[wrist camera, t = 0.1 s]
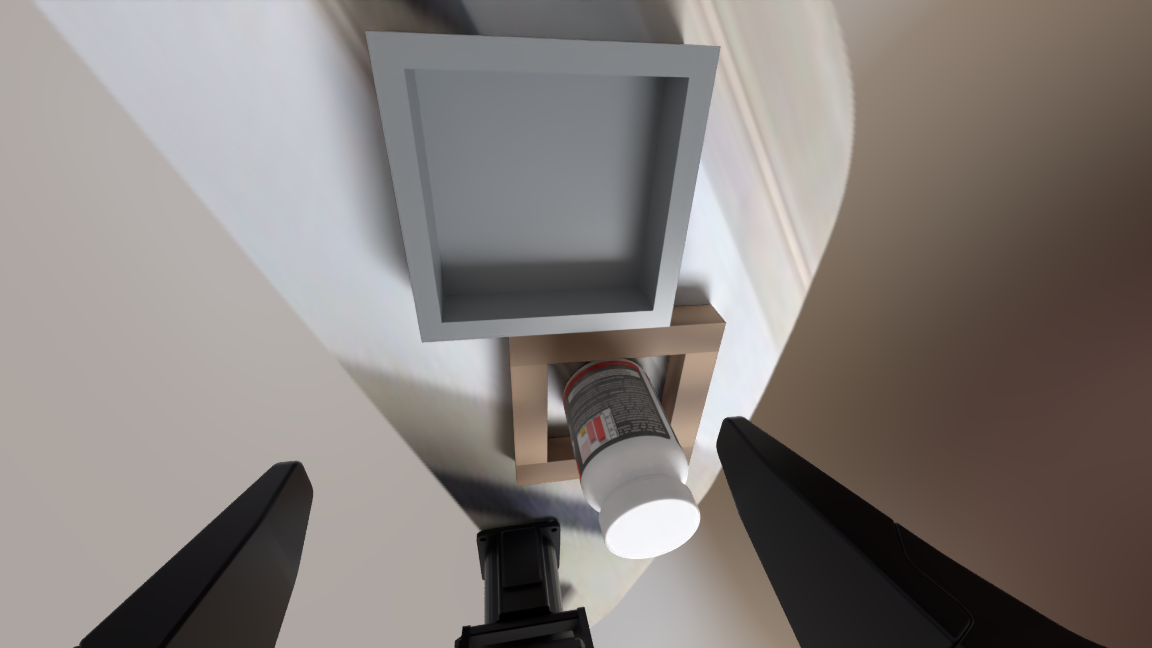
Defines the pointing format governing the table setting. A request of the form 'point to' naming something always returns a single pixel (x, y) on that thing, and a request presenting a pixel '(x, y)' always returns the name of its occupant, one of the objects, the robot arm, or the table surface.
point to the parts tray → (541, 177)
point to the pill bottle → (629, 459)
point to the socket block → (684, 341)
